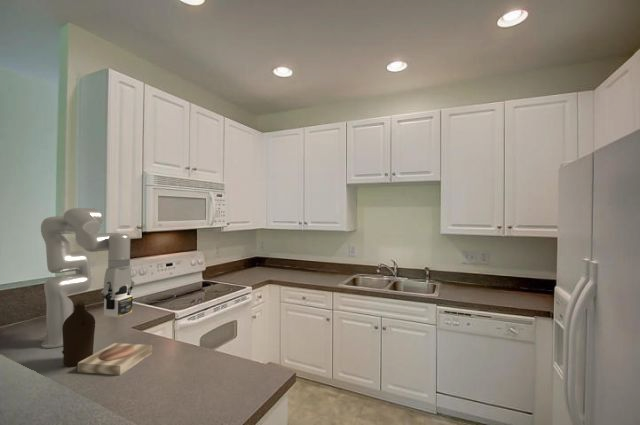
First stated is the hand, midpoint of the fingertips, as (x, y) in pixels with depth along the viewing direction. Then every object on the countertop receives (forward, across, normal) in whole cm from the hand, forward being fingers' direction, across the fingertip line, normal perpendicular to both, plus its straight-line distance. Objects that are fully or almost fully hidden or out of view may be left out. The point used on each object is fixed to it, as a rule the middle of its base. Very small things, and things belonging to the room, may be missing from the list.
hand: (118, 305), depth 122 cm
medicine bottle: (+4, 0, 0) cm, 4 cm away
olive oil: (+23, +2, -16) cm, 29 cm away
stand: (+23, 0, 0) cm, 23 cm away
